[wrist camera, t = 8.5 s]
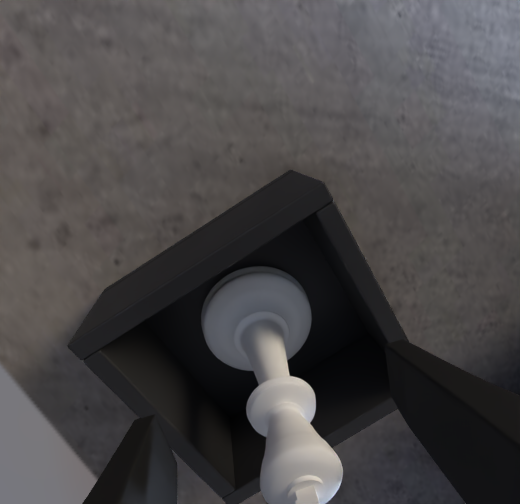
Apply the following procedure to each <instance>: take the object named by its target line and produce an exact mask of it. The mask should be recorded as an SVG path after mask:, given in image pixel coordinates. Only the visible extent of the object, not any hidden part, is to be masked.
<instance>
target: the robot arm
mask: <svg viewBox="0 0 520 504" xmlns="http://www.w3.org/2000/svg"><path fill="white" fill-rule="evenodd" d="M384 347H385V355H386V362H387V370H388V377H389V385H390V392H391V397H392V399H393V400H394V402H395V404H396V406H397V407H398V409H399V411H400V413H401V414H402V416H403V418H404V419H405V421H406V423H407V424H408V426H409V428H410V429H411V430H412V432H413V433H414V434H415V436H416V437H417V439H418V440H419V441H420V443H421V444H422V445H423V447H424V448H425V449H426V451H427V452H428V453H429V455H430V456H431V457H432V459H433V460H434V461H435V463H436V464H437V465H438V467H439V468H440V469H441V471H442V472H443V473H444V475H445V476H446V477H447V479H448V480H449V481H450V483H451V484H452V485H453V487H454V488H455V489H456V491H457V492H458V493H459V495H460V496H461V497H462V499H463V500H464V502H465V503H466V504H520V395H517V394H515V393H512V392H510V391H508V390H506V389H503V388H501V387H499V386H496V385H494V384H492V383H490V382H487V381H485V380H483V379H481V378H479V377H477V376H474V375H472V374H470V373H468V372H466V371H464V370H462V369H460V368H458V367H456V366H454V365H452V364H450V363H448V362H446V361H444V360H442V359H440V358H438V357H436V356H434V355H433V354H431V353H429V352H427V351H425V350H423V349H421V348H419V347H417V346H415V345H414V344H412V343H410V342H408V341H406V340H404V339H401V340H398V341H394V342H391V343H388V344H385V345H384ZM83 504H177V462H176V460H175V458H174V455H173V453H172V451H171V449H170V446H169V444H168V442H167V440H166V437H165V435H164V433H163V430H162V428H161V426H160V424H159V421H158V419H157V417H156V415H155V414H153V415H150V416H147V417H143V418H140V419H137V420H135V421H134V422H133V424H132V426H131V427H130V429H129V430H128V432H127V434H126V435H125V437H124V439H123V440H122V442H121V443H120V445H119V447H118V448H117V450H116V452H115V453H114V455H113V457H112V458H111V460H110V461H109V463H108V465H107V466H106V468H105V470H104V471H103V473H102V474H101V476H100V477H99V479H98V481H97V482H96V484H95V485H94V487H93V488H92V490H91V492H90V493H89V495H88V496H87V498H86V499H85V501H84V502H83Z"/></svg>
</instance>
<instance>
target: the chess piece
mask: <svg viewBox="0 0 520 504" xmlns="http://www.w3.org/2000/svg"><path fill="white" fill-rule="evenodd" d="M311 321H312V314H311V308H310V304H309V301H308V298H307V295H306V293H305V291H304V289H303V287H302V286H301V285H300V284H299V282H298V281H297V280H296V279H295V278H293V277H292V276H291V275H289V274H288V273H286V272H284V271H282V270H279V269H276V268H272V267H267V266H252V267H246V268H243V269H239V270H237V271H234V272H232V273H230V274H228V275H227V276H225V277H224V278H222V279H221V280H220V281H219V282H218V283H217V284H216V285H215V286H214V287H213V288H212V289H211V291H210V292H209V294H208V295H207V297H206V299H205V301H204V304H203V307H202V312H201V326H202V330H203V334H204V338H205V341H206V343H207V345H208V347H209V349H210V350H211V351H212V353H213V354H214V355H215V356H216V357H217V358H218V359H219V360H221V361H222V362H223V363H225V364H227V365H229V366H231V367H234V368H237V369H240V370H246V371H254V374H255V376H256V379H257V381H258V384H259V386H258V387H257V388H256V389H255V390H254V391H253V392H252V393H251V395H250V397H249V399H248V401H247V406H246V413H247V417H248V420H249V422H250V423H251V425H252V427H253V428H254V429H255V430H256V431H257V432H258V433H259V434H261V435H263V436H265V437H266V448H265V454H264V458H263V461H262V466H261V473H260V489H261V493H262V495H263V497H264V499H265V500H266V502H267V503H268V504H325V503H327V502H328V501H329V500H330V499H331V498H332V497H333V496H334V495H335V494H336V492H337V491H338V489H339V487H340V485H341V482H342V478H343V468H342V464H341V461H340V459H339V457H338V456H337V454H336V453H335V451H334V450H333V449H332V448H331V447H330V445H329V444H328V443H327V442H326V441H325V440H324V439H322V438H321V437H320V435H319V434H318V433H317V432H316V431H315V430H314V428H313V426H312V425H311V424H310V422H311V421H312V419H313V417H314V415H315V411H316V397H315V393H314V391H313V389H312V388H311V386H310V385H309V384H308V383H307V382H305V381H304V380H302V379H300V378H297V377H293V376H290V374H289V369H288V363H287V360H289V359H290V358H291V357H293V356H294V355H295V354H296V353H297V352H298V351H299V350H300V348H301V347H302V346H303V344H304V343H305V341H306V339H307V337H308V334H309V332H310V328H311Z"/></svg>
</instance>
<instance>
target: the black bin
mask: <svg viewBox="0 0 520 504" xmlns="http://www.w3.org/2000/svg"><path fill="white" fill-rule="evenodd" d="M252 266H267V267H272V268H276V269H279V270H282V271H284V272H286V273H288V274H289V275H291V276H292V277H293V278H295V279H296V280H297V281H298V282H299V284H300V285H301V286H302V287H303V289H304V291H305V293H306V295H307V298H308V301H309V304H310V308H311V314H312V321H311V328H310V332H309V334H308V337H307V339H306V341H305V343H304V344H303V346H302V347H301V348H300V350H299V351H298V352H297V353H296V354H295V355H294V356H293V357H291V358H290V359H289V360H287V363H288V369H289V374H290V376H293V377H297V378H300V379H302V380H304V381H305V382H307V383H308V384H309V385H310V386H311V388H312V389H313V391H314V393H315V397H316V411H315V415H314V417H313V419H312V421H311V422H310V424H311V425H312V426H313V428H314V430H315V431H316V432H317V433H318V434H319V435H320V437H321V438H322V439H324V440H325V441H326V442H327V443H328V444H329V445H330V447H331V448H333V447H334V446H336V445H338V444H339V443H341V442H343V441H344V440H346V439H348V438H349V437H351V436H353V435H354V434H356V433H358V432H359V431H361V430H363V429H365V428H366V427H368V426H370V425H371V424H373V423H375V422H376V421H378V420H380V419H381V418H383V417H385V416H386V415H388V414H390V413H391V412H393V411H395V410H396V409H398V407H397V406H396V404H395V402H394V400H393V399H392V397H391V392H390V385H389V377H388V370H387V362H386V355H385V347H384V345H385V344H388V343H391V342H394V341H398V340H401V339H404V340H406V341H408V339H407V337H406V335H405V333H404V331H403V329H402V328H401V326H400V324H399V322H398V320H397V318H396V316H395V314H394V313H393V311H392V309H391V307H390V305H389V303H388V301H387V299H386V298H385V296H384V294H383V292H382V290H381V288H380V286H379V284H378V282H377V281H376V279H375V277H374V275H373V273H372V271H371V269H370V267H369V266H368V264H367V262H366V260H365V258H364V256H363V254H362V252H361V251H360V249H359V247H358V245H357V243H356V241H355V239H354V237H353V235H352V234H351V232H350V230H349V228H348V226H347V224H346V222H345V220H344V219H343V217H342V215H341V213H340V211H339V209H338V207H337V205H336V204H335V202H334V201H333V198H332V196H331V194H330V192H329V190H328V188H327V186H326V185H325V183H324V182H322V181H320V180H317V179H314V178H312V177H309V176H306V175H304V174H301V173H298V172H296V171H293V170H289V171H287V172H286V173H284V174H283V175H281V176H280V177H278V178H277V179H275V180H274V181H272V182H270V183H269V184H267V185H266V186H264V187H263V188H261V189H260V190H258V191H256V192H255V193H253V194H252V195H250V196H249V197H247V198H246V199H244V200H242V201H241V202H239V203H238V204H236V205H235V206H233V207H232V208H230V209H229V210H227V211H225V212H224V213H222V214H221V215H219V216H218V217H216V218H215V219H213V220H211V221H210V222H208V223H207V224H205V225H204V226H202V227H201V228H199V229H197V230H196V231H194V232H193V233H191V234H190V235H188V236H187V237H185V238H183V239H182V240H180V241H179V242H177V243H176V244H174V245H173V246H171V247H170V248H168V249H166V250H165V251H163V252H162V253H160V254H159V255H157V256H156V257H154V258H152V259H151V260H149V261H148V262H146V263H145V264H143V265H142V266H140V267H138V268H137V269H135V270H134V271H132V272H131V273H129V274H128V275H126V276H124V277H123V278H121V279H120V280H118V281H117V282H115V283H114V284H112V285H111V286H109V287H107V288H106V289H105V290H104V291H103V293H102V294H101V296H100V297H99V299H98V300H97V302H96V303H95V305H94V306H93V308H92V309H91V311H90V312H89V314H88V315H87V317H86V318H85V320H84V321H83V323H82V324H81V326H80V327H79V329H78V330H77V332H76V333H75V335H74V336H73V338H72V339H71V341H70V342H69V344H68V345H67V346H68V348H69V349H70V350H71V351H72V352H73V353H74V354H75V355H76V356H77V357H78V358H79V359H80V360H83V359H84V360H83V362H84V363H85V364H86V365H87V366H88V367H89V368H90V369H91V370H92V371H93V372H94V373H95V374H96V375H97V376H98V377H99V378H100V379H101V380H102V381H103V382H104V383H105V384H106V385H107V386H108V387H109V388H110V389H111V390H112V391H113V392H114V393H115V394H116V395H117V396H118V397H119V398H120V399H121V400H122V401H123V402H124V403H125V404H126V405H127V406H128V407H129V408H130V409H131V410H132V411H133V412H134V413H135V414H136V415H137V416H138V417H140V418H143V417H147V416H150V415H153V414H155V415H156V417H157V419H158V421H159V424H160V426H161V428H162V430H163V433H164V435H165V437H166V440H167V442H168V444H169V446H170V448H171V449H172V450H173V451H174V452H175V453H176V454H177V455H178V456H179V457H180V458H181V459H182V460H183V461H184V462H185V463H186V464H187V465H188V466H189V467H190V468H191V469H192V470H193V471H194V472H195V473H196V474H197V475H198V476H199V477H200V478H201V479H202V480H203V481H205V482H206V483H207V484H208V485H209V486H210V487H211V488H212V489H213V490H214V491H215V492H216V493H217V494H218V495H219V496H220V497H221V498H222V499H223V501H224V502H225V503H226V504H239V503H241V502H242V501H244V500H246V499H247V498H249V497H251V496H252V495H254V494H256V493H257V492H259V491H261V489H260V473H261V466H262V461H263V458H264V454H265V448H266V437H265V436H263V435H261V434H259V433H258V432H257V431H256V430H255V429H254V428H253V427H252V425H251V423H250V422H249V420H248V417H247V413H246V406H247V401H248V399H249V397H250V395H251V393H252V392H253V391H254V390H255V389H256V388H257V387H258V386H259V384H258V381H257V379H256V376H255V374H254V371H246V370H240V369H237V368H234V367H231V366H229V365H227V364H225V363H223V362H222V361H221V360H219V359H218V358H217V357H216V356H215V355H214V354H213V353H212V351H211V350H210V349H209V347H208V345H207V343H206V341H205V338H204V334H203V330H202V326H201V312H202V307H203V304H204V301H205V299H206V297H207V295H208V294H209V292H210V291H211V289H212V288H213V287H214V286H215V285H216V284H217V283H218V282H219V281H220V280H221V279H222V278H224V277H225V276H227V275H228V274H230V273H232V272H234V271H237V270H239V269H243V268H246V267H252ZM408 342H409V341H408Z"/></svg>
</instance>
